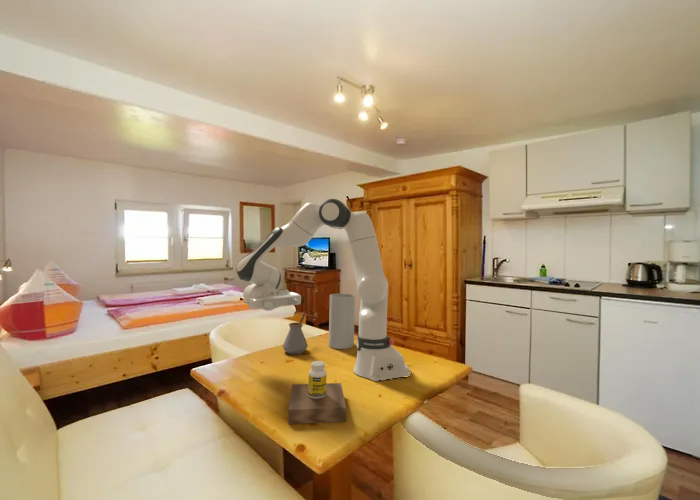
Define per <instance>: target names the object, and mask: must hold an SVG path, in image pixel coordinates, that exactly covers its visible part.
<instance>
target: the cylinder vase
mask: <svg viewBox="0 0 700 500" xmlns="http://www.w3.org/2000/svg"><path fill="white" fill-rule="evenodd" d="M355 307H356V295H355V294H351V293H333V294H332V293H331V294H330V295H329V310H328V311H329V313H328V314H329V319H328V320H329V322H328V325H329V326H328V346H329V347H330V348H332V349H335V350H348V349H351V348H353V347H354V345H355V314H356V313H355V312H356V310H355Z"/></svg>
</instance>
